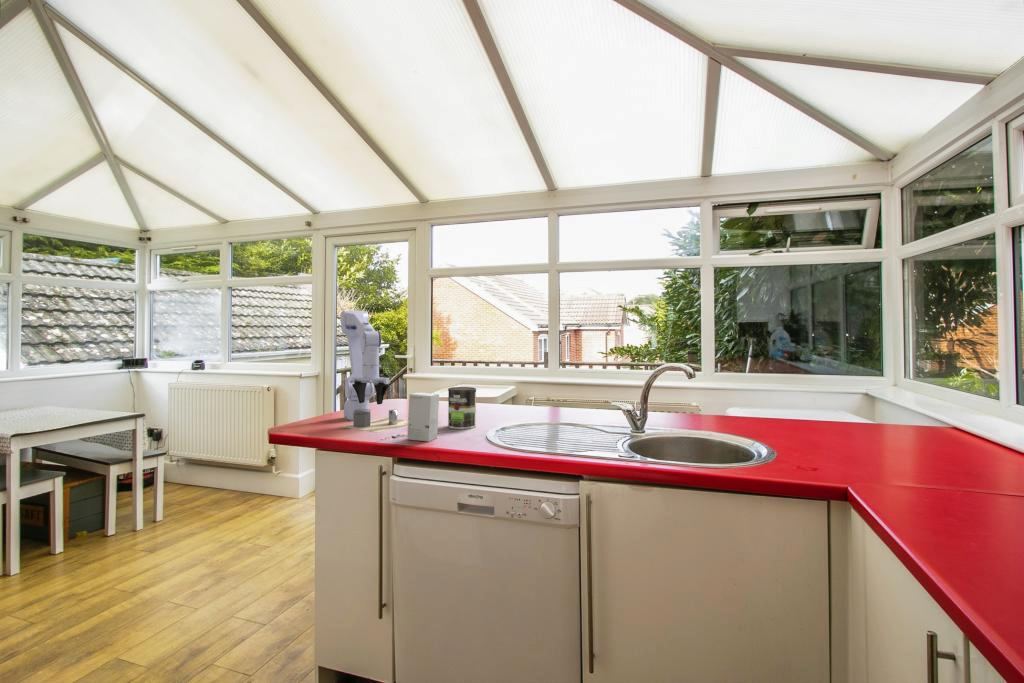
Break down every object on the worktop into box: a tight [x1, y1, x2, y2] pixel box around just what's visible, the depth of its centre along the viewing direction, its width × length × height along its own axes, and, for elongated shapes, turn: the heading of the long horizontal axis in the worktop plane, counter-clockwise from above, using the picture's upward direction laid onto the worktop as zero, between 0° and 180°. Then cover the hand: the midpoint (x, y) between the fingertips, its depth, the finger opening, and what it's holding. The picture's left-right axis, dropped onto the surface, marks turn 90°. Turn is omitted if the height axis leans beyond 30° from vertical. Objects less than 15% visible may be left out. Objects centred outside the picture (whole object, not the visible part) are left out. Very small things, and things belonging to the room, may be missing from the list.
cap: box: [353, 408, 372, 427], centre depth 168 cm, size 6×6×6 cm
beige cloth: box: [341, 417, 408, 433], centre depth 170 cm, size 18×21×2 cm
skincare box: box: [407, 392, 440, 442], centre depth 154 cm, size 8×6×15 cm
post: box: [388, 409, 398, 425], centre depth 171 cm, size 3×3×6 cm
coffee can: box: [447, 386, 477, 430], centre depth 174 cm, size 10×10×14 cm
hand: (370, 403), depth 168 cm, fingers open, 7 cm apart
